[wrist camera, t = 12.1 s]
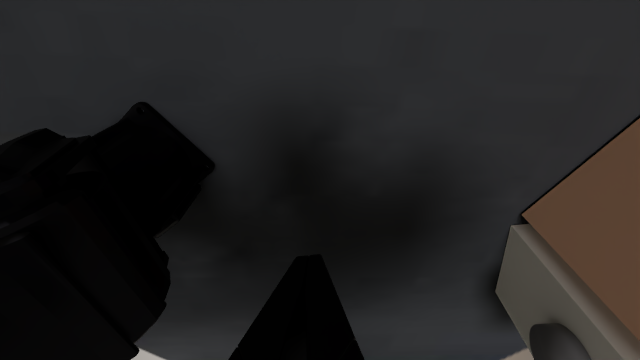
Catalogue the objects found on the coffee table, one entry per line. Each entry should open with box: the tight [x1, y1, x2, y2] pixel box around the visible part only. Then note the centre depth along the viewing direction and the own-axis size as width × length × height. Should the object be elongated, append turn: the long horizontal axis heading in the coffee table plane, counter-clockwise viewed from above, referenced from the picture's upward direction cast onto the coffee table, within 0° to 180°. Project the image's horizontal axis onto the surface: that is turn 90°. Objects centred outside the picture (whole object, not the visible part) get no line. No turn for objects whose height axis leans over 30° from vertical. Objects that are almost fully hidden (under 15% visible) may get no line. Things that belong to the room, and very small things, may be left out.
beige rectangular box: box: [495, 224, 640, 360], centre depth 19 cm, size 10×9×14 cm
